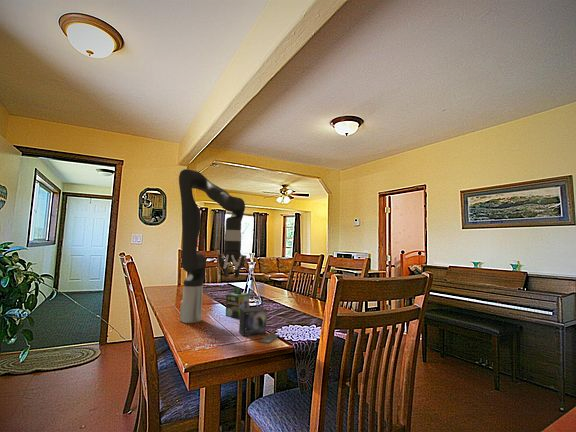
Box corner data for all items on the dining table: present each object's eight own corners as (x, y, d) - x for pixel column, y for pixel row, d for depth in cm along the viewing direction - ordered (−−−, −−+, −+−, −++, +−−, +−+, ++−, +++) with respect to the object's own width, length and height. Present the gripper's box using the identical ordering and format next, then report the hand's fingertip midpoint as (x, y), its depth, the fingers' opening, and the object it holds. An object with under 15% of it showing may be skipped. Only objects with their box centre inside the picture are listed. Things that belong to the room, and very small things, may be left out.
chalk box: (249, 315, 165) (250, 287, 166) (238, 318, 158) (239, 289, 159) (236, 312, 170) (237, 285, 171) (224, 315, 163) (226, 287, 164)
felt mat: (259, 342, 123) (259, 340, 123) (270, 334, 133) (270, 333, 133) (269, 343, 122) (269, 342, 122) (279, 335, 132) (279, 334, 132)
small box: (243, 337, 129) (244, 311, 130) (238, 332, 135) (239, 308, 135) (266, 334, 134) (267, 309, 134) (260, 330, 139) (261, 306, 140)
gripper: (250, 240, 142) (249, 277, 141) (223, 239, 147) (222, 275, 146) (242, 240, 135) (241, 279, 134) (214, 239, 140) (213, 277, 139)
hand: (231, 277), depth 140 cm, fingers open, 4 cm apart
